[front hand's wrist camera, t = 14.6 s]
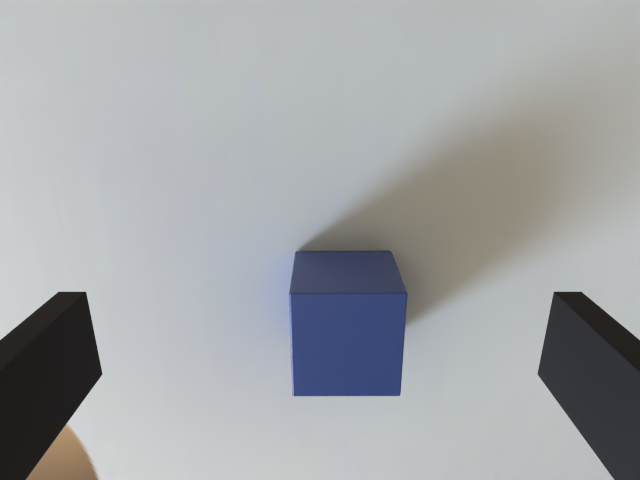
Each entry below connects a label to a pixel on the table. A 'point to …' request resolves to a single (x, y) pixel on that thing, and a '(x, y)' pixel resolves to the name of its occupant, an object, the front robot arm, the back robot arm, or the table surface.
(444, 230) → the table surface
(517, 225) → the table surface
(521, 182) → the table surface
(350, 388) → the block
